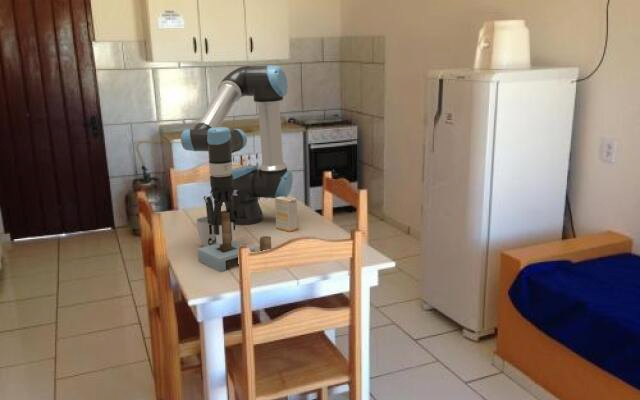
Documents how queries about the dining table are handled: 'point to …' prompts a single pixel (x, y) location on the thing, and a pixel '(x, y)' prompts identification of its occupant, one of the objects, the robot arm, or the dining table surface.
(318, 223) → the dining table surface
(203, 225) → the cup
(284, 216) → the supplement box
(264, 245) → the short pin
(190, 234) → the dining table surface
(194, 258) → the dining table surface
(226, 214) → the long pin
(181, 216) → the dining table surface
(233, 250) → the square hole board
